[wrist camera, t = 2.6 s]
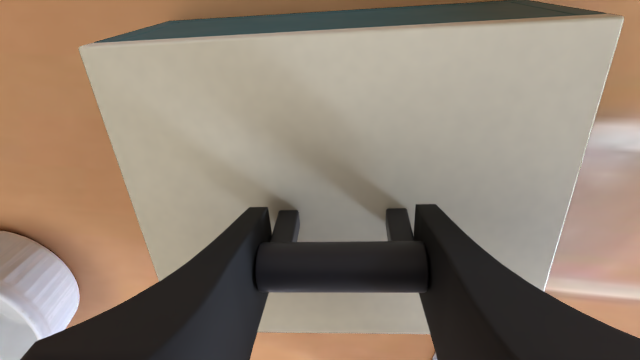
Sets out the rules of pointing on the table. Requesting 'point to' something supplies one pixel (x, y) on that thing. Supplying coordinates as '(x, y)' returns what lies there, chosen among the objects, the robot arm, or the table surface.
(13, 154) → the table surface
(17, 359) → the ramekin
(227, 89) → the lid
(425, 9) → the cool box
